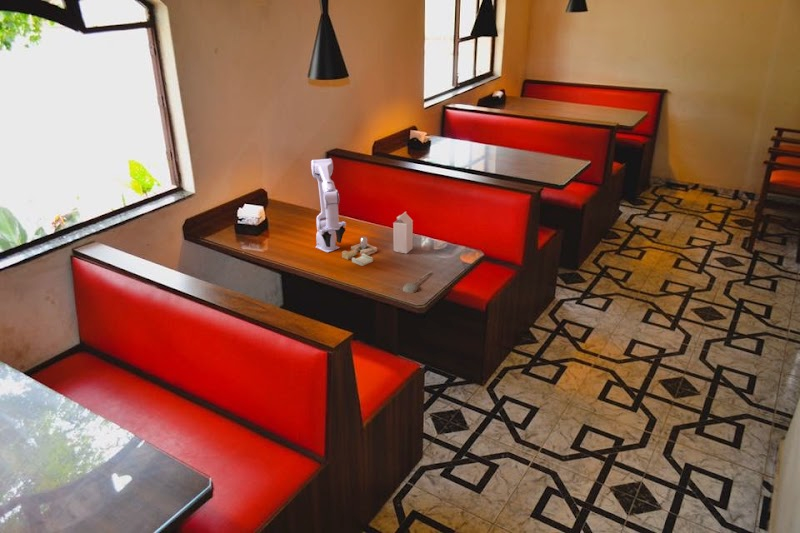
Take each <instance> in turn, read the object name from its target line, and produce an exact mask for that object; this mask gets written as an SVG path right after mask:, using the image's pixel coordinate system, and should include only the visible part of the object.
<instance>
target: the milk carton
mask: <svg viewBox="0 0 800 533" xmlns="http://www.w3.org/2000/svg"><path fill="white" fill-rule="evenodd" d="M413 222H414V220H413V219H412V218H411V217H410V215H408V213H407V211H404V212H403V213H402V214H399V215H398V216H396V220H395V221H394V222H392V224H393V225H392V226H393V236H392V237H393V252H395V253H396V252H397V253H400V254H401V253H402V254H408V253H409V252H410V251H412V249H413V247H414V246H413V239H414V238H413V237H414V236H413V231H414V230H413V229H414V227H413V225H414V223H413Z"/></svg>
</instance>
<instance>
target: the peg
mask: <svg viewBox="0 0 800 533" xmlns="http://www.w3.org/2000/svg"><path fill="white" fill-rule="evenodd" d="M360 243H361V250H365V249H367V244H368V237H367V236H361V237H360Z"/></svg>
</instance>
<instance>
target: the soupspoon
mask: <svg viewBox="0 0 800 533" xmlns="http://www.w3.org/2000/svg"><path fill="white" fill-rule="evenodd" d="M431 275H433V271H432V270H430V271H428V272H427V273H426V274H424V275H423V276H421V277H420V278H419V279H418V280H417V279H416V281H415V282H407V283H405V284H404V286H403V287H402V292H405V293H407V294H415V293H416V291H418V289H419V282H420V281H421V280H422V279H424V278H426V277H427V276H431Z"/></svg>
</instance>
